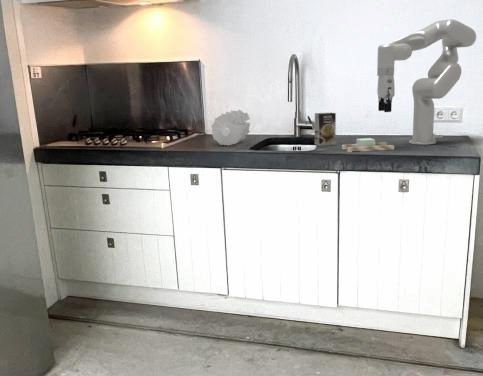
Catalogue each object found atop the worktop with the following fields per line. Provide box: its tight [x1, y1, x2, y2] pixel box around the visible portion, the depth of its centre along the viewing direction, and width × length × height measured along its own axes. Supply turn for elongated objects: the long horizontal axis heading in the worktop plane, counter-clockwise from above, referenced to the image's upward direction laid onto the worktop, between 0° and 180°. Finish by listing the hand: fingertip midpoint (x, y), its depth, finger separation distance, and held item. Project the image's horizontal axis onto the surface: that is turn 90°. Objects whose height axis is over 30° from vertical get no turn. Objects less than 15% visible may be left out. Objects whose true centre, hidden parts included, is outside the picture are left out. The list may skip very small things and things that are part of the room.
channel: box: [341, 141, 395, 153], centre depth 242 cm, size 22×10×2 cm, turn 96°
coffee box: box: [314, 112, 337, 147], centre depth 259 cm, size 9×6×16 cm
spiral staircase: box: [210, 109, 251, 146], centre depth 276 cm, size 18×18×25 cm
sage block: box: [355, 137, 376, 147], centre depth 242 cm, size 7×6×5 cm
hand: (384, 111), depth 239 cm, fingers open, 6 cm apart
